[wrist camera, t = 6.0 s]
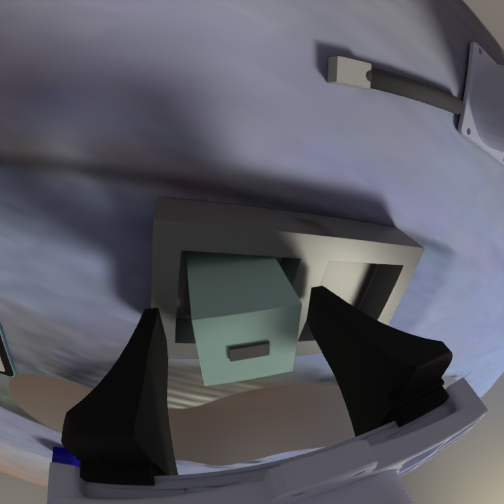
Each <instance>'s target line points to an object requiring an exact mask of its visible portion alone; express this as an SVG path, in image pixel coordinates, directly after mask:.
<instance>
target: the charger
mask: <svg viewBox="0 0 504 504" xmlns="http://www.w3.org/2000/svg"><path fill="white" fill-rule="evenodd" d="M186 256H187V271H188V284H189V296H190V307H191V318H192V324H193V330H194V335H195V341H196V346H197V351H198V356H199V361H200V366H201V371H202V376H203V380H204V385H205V386H209V385H216V384H223V383H230V382H236V381H242V380H248V379H254V378H259V377H265V376H270V375H275V374H280V373H284V372H289V371H293V365H294V359H295V352H296V345H297V338H298V331H299V324H300V317H301V309H302V303H301V301H300V299H299V298H298V296H297V294H296V292H295V291H294V289H293V287H292V285H291V284H290V282H289V280H288V279H287V277H286V275H285V273H284V272H283V270H282V268H281V267H280V265H279V263H278V262H277V260H276V258H275V257H272V256H257V255H243V254H229V253H214V252H200V251H186Z"/></svg>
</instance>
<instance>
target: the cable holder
mask: <svg viewBox="0 0 504 504" xmlns="http://www.w3.org/2000/svg"><path fill="white" fill-rule="evenodd" d="M52 462H56V463H62V464H69V465H74V466H77V467H79V468H80V460H79V459H77V458H76V457H75V456H74V455H73V454H71V453H70V452H69V451H68V450H67V449H66V448H60V447H53V456H52Z"/></svg>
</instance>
